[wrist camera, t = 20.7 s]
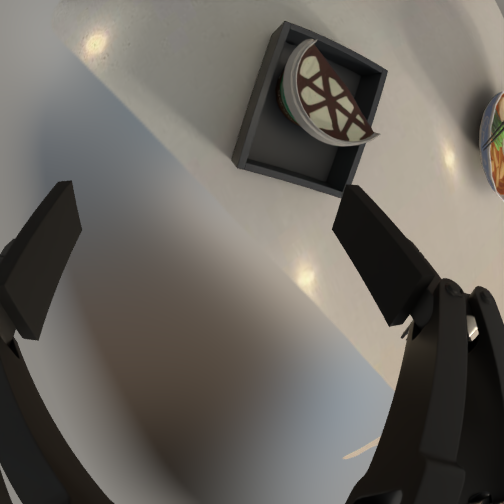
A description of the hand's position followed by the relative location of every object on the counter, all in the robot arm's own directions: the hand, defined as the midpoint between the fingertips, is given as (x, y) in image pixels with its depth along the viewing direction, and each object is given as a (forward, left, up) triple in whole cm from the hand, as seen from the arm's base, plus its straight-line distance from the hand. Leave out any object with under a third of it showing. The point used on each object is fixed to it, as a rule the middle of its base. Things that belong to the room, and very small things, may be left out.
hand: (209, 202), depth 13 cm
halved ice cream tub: (+9, +8, -22) cm, 25 cm away
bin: (+10, +8, -23) cm, 26 cm away
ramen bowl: (+50, +22, -23) cm, 59 cm away
